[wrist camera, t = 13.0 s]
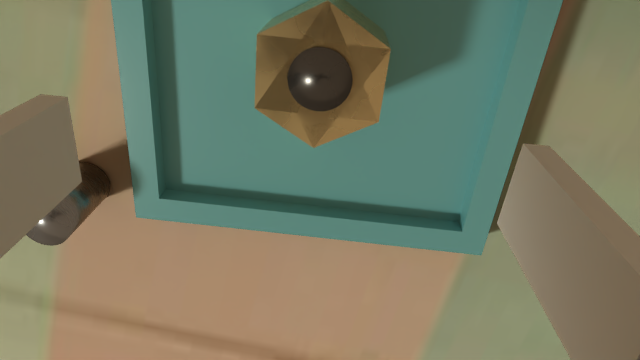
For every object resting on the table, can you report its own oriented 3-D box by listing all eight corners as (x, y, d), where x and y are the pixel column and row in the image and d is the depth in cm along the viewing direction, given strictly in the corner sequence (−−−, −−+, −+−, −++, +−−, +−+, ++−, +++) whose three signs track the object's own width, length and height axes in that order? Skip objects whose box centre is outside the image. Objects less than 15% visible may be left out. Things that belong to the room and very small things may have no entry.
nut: (267, 111, 27) (253, 142, 23) (273, -17, 24) (257, -8, 20) (369, 122, 27) (373, 155, 23) (389, -5, 24) (398, 8, 20)
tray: (147, 202, 31) (136, 217, 29) (104, -220, 21) (84, -233, 19) (474, 238, 31) (481, 255, 29) (599, -170, 20) (620, -179, 19)
